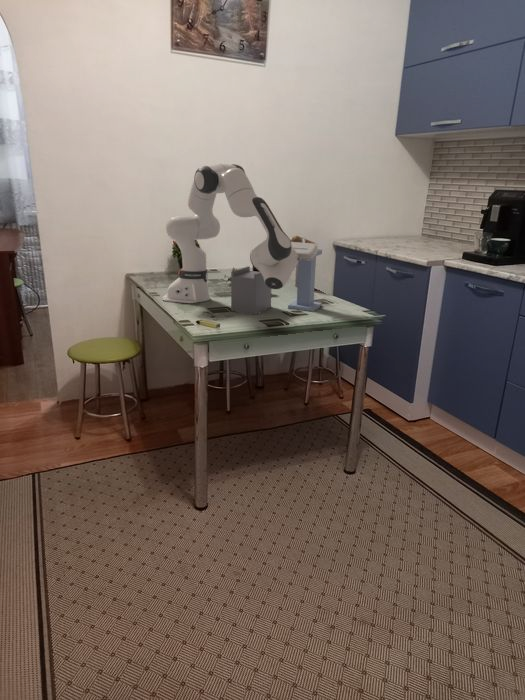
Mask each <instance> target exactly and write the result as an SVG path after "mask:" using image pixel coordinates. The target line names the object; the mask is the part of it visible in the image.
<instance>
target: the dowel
mask: <svg viewBox="0 0 525 700" xmlns="http://www.w3.org/2000/svg"><path fill="white" fill-rule="evenodd" d="M292 237H293V242H299V243H301V238H302V237H301V236H299V235H294V236H292ZM305 240H306V241H305V243H313V244H316V242H315V241H312V240H309V239H307V238H305Z"/></svg>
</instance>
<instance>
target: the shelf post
mask: <svg viewBox="0 0 525 700" xmlns="http://www.w3.org/2000/svg"><path fill="white" fill-rule="evenodd" d="M322 254H323V249H321V248H320V249H319V248H318V252H317V254H316V255H315V257H314V258H313V260H310V261H300V260H299V262H298V285H297V287H296V288H297V291H296V300H294V301H293V302H291V303H290V304H288V305H287V309H289V308H291V310H297V309H299V310H298V311H304V310H306V312H312V311H313V312H315V311H317V310H318V309H319V308H320V306H321V307H322V305H323V303H322V302H318V301H315V300H314V299H315V284H316V283H315V282H316V281H315V280H316V268H317V267H316V264H317V263H316V262H317V256H321V255H322ZM317 308H318V309H317Z"/></svg>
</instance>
